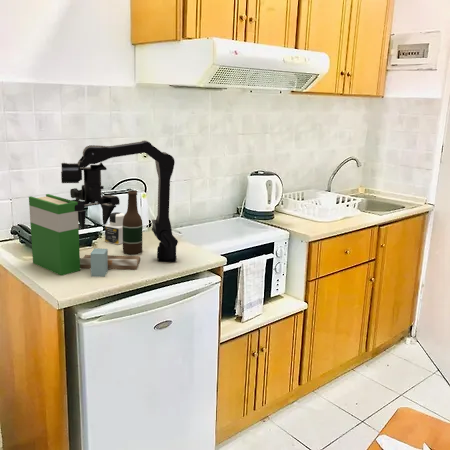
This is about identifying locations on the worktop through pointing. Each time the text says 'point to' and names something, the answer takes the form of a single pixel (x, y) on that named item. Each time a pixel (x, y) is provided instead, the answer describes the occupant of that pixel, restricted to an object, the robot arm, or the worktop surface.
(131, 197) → the beer bottle
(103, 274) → the product carton
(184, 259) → the worktop surface
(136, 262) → the shelf board
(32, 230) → the hardback book
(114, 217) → the medicine bottle
